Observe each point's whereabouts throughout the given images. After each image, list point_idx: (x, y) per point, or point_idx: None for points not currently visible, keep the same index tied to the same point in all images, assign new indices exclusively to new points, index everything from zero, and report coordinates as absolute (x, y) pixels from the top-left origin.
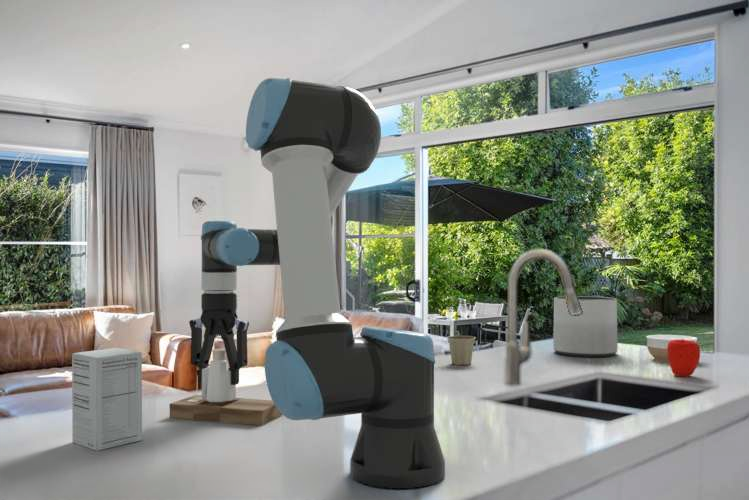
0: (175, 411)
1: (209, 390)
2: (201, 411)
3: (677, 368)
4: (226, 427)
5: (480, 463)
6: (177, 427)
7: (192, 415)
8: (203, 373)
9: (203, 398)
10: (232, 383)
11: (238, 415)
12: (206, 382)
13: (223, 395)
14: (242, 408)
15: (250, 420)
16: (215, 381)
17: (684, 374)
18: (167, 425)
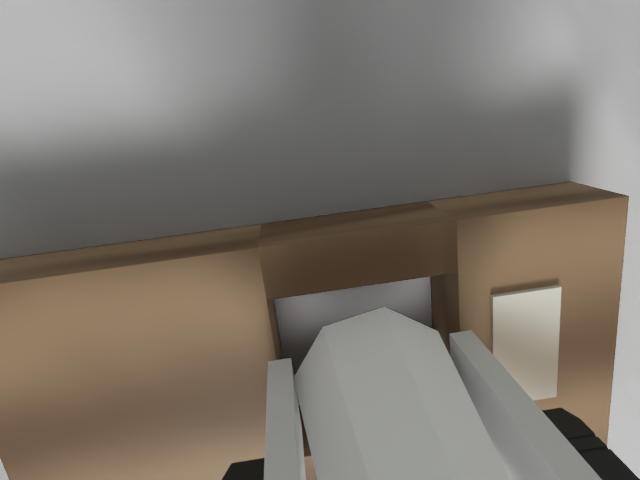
0: (557, 192)
1: (424, 358)
2: (386, 219)
3: None
4: (144, 141)
5: None
6: (402, 16)
7: (439, 206)
8: (564, 459)
9: (460, 333)
10: (255, 467)
11: (130, 254)
12: (499, 420)
13: (314, 372)
14: (106, 293)
15: (56, 256)
16: (388, 412)
17: None
18: (485, 32)
